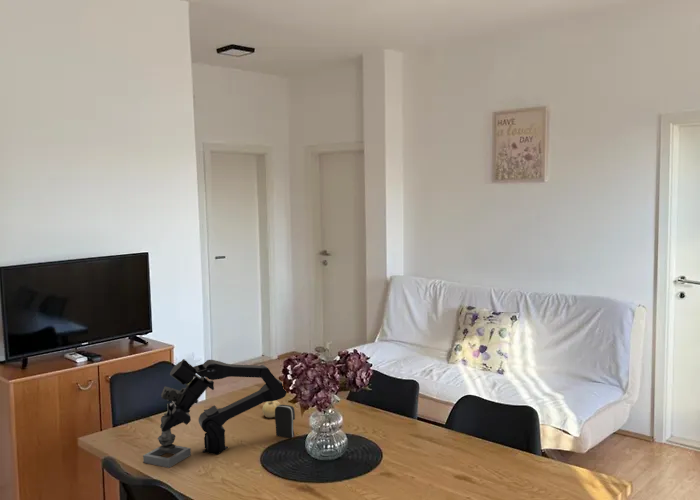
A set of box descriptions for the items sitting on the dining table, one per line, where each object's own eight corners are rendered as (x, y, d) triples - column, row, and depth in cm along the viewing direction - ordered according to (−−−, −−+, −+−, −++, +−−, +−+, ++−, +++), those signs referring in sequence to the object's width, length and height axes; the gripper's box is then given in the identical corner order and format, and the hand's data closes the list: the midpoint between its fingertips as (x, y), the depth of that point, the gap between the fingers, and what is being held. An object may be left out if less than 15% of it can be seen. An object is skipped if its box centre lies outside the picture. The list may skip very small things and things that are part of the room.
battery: (296, 435, 239) (295, 404, 238) (292, 438, 236) (290, 408, 235) (280, 432, 242) (279, 402, 241) (275, 436, 239) (273, 406, 238)
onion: (260, 414, 263) (260, 397, 262) (280, 411, 265) (279, 394, 265) (264, 420, 255) (263, 403, 255) (284, 418, 258) (283, 400, 257)
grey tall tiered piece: (173, 450, 218) (171, 415, 217) (156, 451, 218) (153, 416, 217) (178, 443, 224) (176, 409, 222) (161, 444, 224) (159, 410, 223)
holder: (190, 455, 224) (190, 448, 223) (169, 467, 214) (168, 460, 214) (165, 450, 228) (165, 443, 228) (143, 462, 219) (143, 455, 218)
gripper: (171, 371, 229) (141, 407, 226) (178, 385, 211) (145, 424, 208) (195, 389, 232) (166, 425, 229) (204, 405, 215) (172, 443, 212)
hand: (161, 428), depth 220 cm, fingers closed on grey tall tiered piece, 3 cm apart
